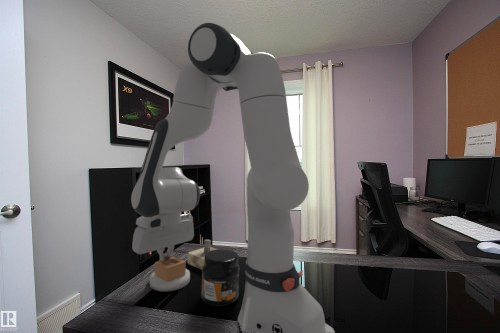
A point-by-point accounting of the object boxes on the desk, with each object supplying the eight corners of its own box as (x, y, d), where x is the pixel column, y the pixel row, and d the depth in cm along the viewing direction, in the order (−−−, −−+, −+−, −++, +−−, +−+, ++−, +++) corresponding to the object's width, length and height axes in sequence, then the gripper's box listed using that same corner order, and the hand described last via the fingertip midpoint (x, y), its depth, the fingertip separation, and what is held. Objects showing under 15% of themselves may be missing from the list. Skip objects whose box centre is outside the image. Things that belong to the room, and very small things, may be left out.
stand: (225, 262, 90) (226, 240, 90) (205, 271, 82) (206, 247, 82) (207, 255, 96) (208, 235, 96) (187, 263, 88) (188, 240, 88)
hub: (197, 280, 75) (198, 263, 75) (163, 296, 66) (164, 276, 66) (175, 269, 83) (175, 253, 83) (141, 282, 73) (142, 264, 73)
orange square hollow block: (185, 274, 75) (185, 261, 75) (167, 282, 69) (167, 268, 69) (173, 268, 79) (173, 256, 79) (154, 275, 73) (155, 262, 73)
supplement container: (202, 311, 60) (204, 264, 60) (199, 289, 70) (201, 249, 70) (242, 305, 63) (244, 260, 63) (234, 285, 73) (235, 247, 73)
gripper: (187, 211, 86) (185, 249, 86) (130, 220, 70) (128, 266, 70) (198, 214, 82) (197, 253, 82) (141, 224, 66) (139, 273, 66)
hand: (165, 259), depth 76 cm, fingers closed, pressing on orange square hollow block
